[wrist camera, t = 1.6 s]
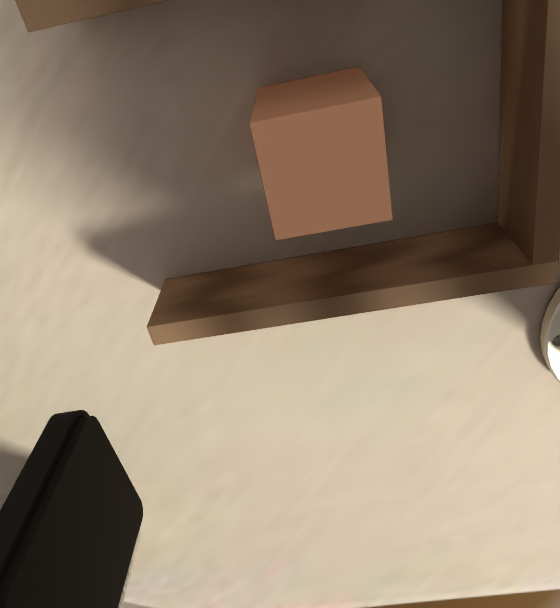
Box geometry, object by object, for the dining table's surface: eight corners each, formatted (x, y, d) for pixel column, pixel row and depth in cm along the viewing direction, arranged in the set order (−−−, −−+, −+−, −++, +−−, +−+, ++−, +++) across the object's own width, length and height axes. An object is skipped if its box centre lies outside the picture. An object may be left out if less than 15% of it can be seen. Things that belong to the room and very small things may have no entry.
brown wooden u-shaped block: (535, -123, 22) (594, -144, 18) (519, 238, 30) (556, 282, 26) (62, -9, 24) (14, -3, 20) (171, 296, 33) (153, 345, 28)
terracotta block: (359, 66, 26) (381, 96, 20) (370, 166, 28) (392, 219, 22) (258, 87, 26) (249, 123, 20) (278, 184, 29) (275, 240, 23)
